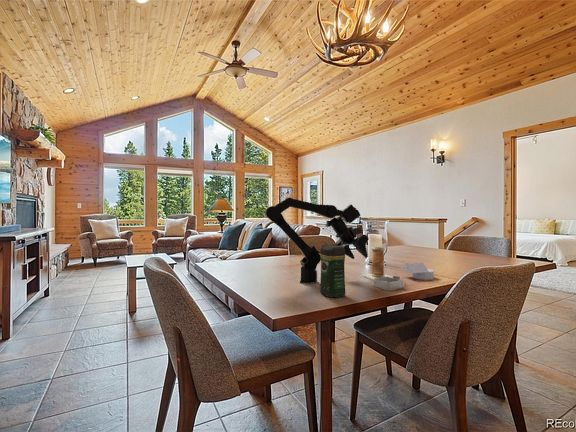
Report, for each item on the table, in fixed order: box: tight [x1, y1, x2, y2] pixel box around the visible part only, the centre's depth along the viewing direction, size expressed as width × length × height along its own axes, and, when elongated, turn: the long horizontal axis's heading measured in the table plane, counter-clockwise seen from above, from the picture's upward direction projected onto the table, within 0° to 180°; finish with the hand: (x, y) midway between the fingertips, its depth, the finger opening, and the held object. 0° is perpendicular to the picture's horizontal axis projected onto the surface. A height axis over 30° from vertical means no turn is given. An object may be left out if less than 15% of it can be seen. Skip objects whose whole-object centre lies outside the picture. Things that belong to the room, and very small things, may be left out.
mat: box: [360, 273, 393, 282], centre depth 137 cm, size 11×11×1 cm
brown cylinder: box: [371, 246, 386, 278], centre depth 137 cm, size 6×6×13 cm
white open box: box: [373, 275, 404, 292], centre depth 121 cm, size 10×8×4 cm
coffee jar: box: [319, 243, 346, 298], centre depth 111 cm, size 10×8×19 cm
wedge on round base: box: [400, 262, 435, 281], centre depth 137 cm, size 9×7×13 cm
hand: (360, 258), depth 134 cm, fingers open, 9 cm apart
